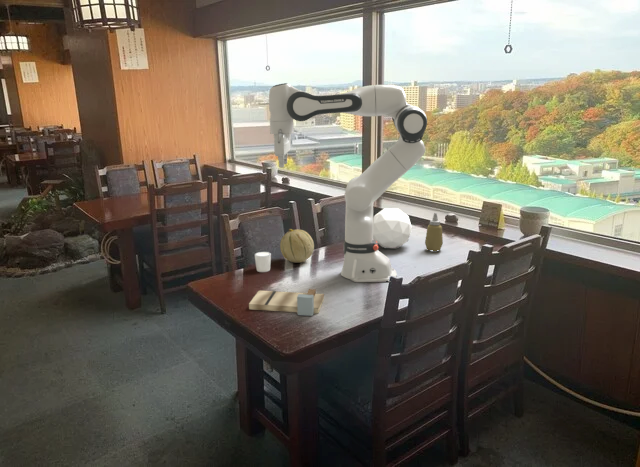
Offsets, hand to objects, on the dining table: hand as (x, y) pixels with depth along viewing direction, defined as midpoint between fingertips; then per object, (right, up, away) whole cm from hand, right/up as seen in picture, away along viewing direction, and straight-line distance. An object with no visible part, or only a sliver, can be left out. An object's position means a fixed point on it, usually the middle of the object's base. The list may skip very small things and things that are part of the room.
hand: (283, 165), depth 184 cm
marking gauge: (+10, -51, -20) cm, 56 cm away
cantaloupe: (+4, -39, +27) cm, 48 cm away
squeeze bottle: (+67, -34, +41) cm, 86 cm away
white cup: (-10, -42, +18) cm, 46 cm away
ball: (+48, -33, +47) cm, 74 cm away
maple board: (+3, -51, -16) cm, 53 cm away
